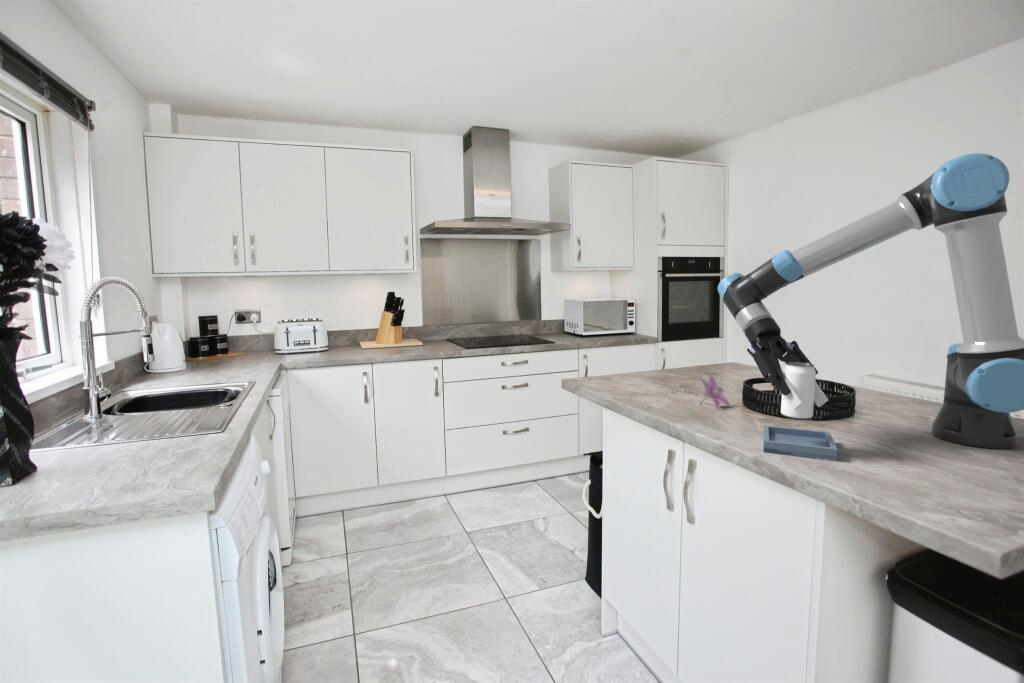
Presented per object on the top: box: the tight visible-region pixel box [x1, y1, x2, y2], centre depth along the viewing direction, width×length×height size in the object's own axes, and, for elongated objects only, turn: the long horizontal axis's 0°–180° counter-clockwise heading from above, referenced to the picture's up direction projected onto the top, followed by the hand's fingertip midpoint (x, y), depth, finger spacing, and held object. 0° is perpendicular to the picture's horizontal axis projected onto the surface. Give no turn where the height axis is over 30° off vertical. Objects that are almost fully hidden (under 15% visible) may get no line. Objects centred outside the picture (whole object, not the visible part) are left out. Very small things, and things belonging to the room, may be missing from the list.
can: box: [780, 362, 817, 420], centre depth 116 cm, size 6×6×12 cm
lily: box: [699, 372, 732, 411], centre depth 155 cm, size 12×12×10 cm
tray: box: [763, 424, 838, 462], centre depth 117 cm, size 14×14×2 cm
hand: (811, 404), depth 113 cm, fingers closed on can, 6 cm apart
